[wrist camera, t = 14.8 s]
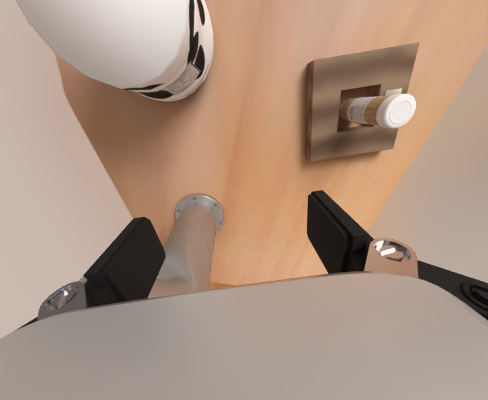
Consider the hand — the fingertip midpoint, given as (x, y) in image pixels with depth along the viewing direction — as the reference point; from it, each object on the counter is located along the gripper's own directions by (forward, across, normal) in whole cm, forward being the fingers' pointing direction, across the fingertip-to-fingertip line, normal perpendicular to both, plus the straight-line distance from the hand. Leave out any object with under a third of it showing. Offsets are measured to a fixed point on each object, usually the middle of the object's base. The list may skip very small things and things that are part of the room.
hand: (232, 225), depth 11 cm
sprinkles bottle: (+32, -25, -2) cm, 41 cm away
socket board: (+32, -25, -2) cm, 41 cm away
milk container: (+32, +9, -17) cm, 38 cm away
